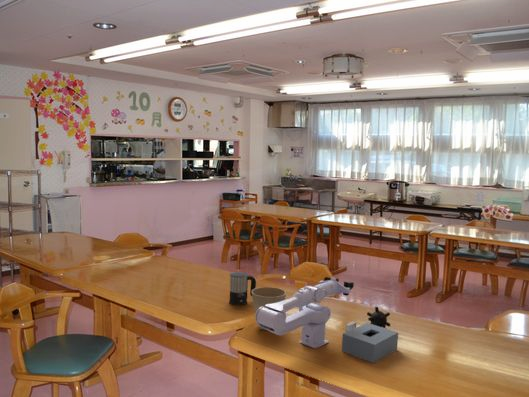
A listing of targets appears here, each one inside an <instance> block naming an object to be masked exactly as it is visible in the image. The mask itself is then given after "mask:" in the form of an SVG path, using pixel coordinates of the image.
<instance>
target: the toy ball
mask: <svg viewBox="0 0 529 397" xmlns="http://www.w3.org/2000/svg"><path fill="white" fill-rule="evenodd" d="M366 315H367V316H368V318H367V320H368V321H369V322H370V324H373V325H376V326H379V327H382V328H386V326H387V327H390V326H391V323H390V322H389V321H388V317H389V316H390V315H391V313H390V312H385V313H384V312H383V311H381V310H379V307H378V306H375V307H374V311H373V312H372V313H371V312H366Z"/></svg>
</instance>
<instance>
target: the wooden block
mask: <svg viewBox="0 0 529 397" xmlns="http://www.w3.org/2000/svg"><path fill="white" fill-rule="evenodd" d="M356 327H357V322H356V321H353V320H352V321H351V322H348V323H346V324H345V332H347V331H350V330H352V329H354V328H356Z"/></svg>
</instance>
